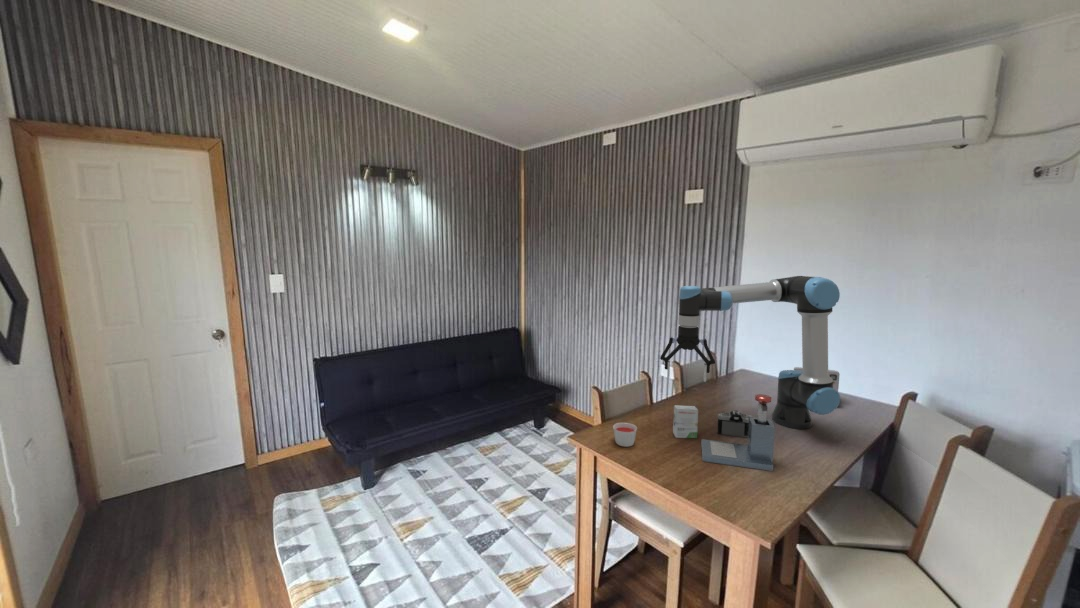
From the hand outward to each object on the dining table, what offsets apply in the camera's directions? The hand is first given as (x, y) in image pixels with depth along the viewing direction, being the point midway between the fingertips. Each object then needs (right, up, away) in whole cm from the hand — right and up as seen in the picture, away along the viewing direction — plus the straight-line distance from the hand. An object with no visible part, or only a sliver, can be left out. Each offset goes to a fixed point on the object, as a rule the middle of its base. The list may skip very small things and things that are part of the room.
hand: (686, 379), depth 166 cm
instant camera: (+80, -18, +46) cm, 94 cm away
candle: (-25, -24, -3) cm, 35 cm away
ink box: (0, -23, +3) cm, 24 cm away
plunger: (+20, -18, -18) cm, 32 cm away
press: (+12, -25, -15) cm, 32 cm away
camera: (+22, -23, +5) cm, 32 cm away
